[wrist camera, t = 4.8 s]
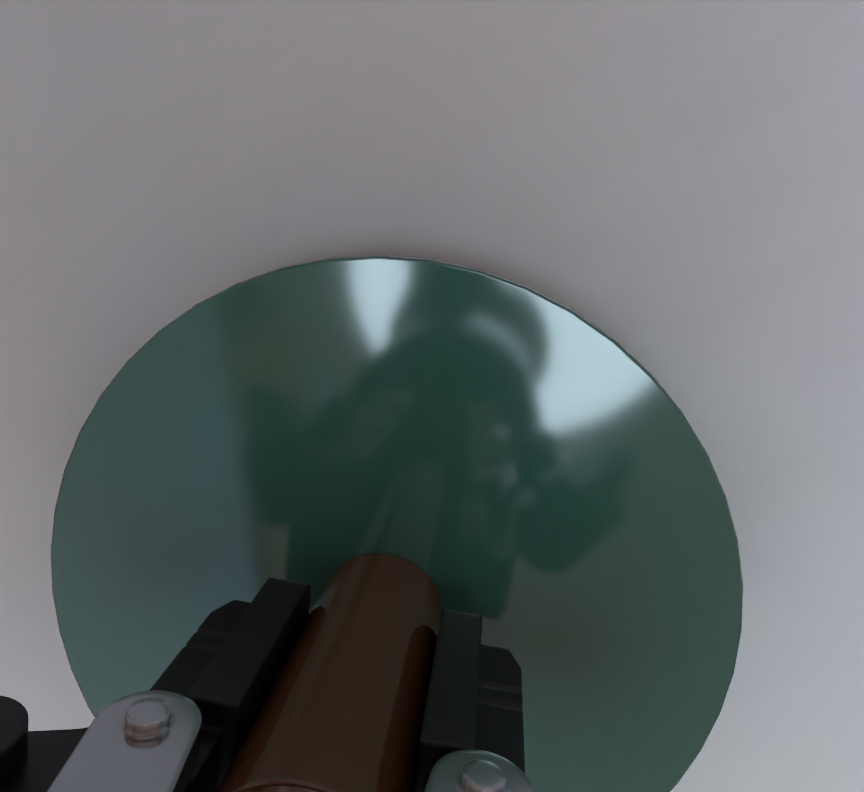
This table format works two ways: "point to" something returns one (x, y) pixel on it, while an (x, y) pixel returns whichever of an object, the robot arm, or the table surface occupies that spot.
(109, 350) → the table surface
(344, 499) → the lid
